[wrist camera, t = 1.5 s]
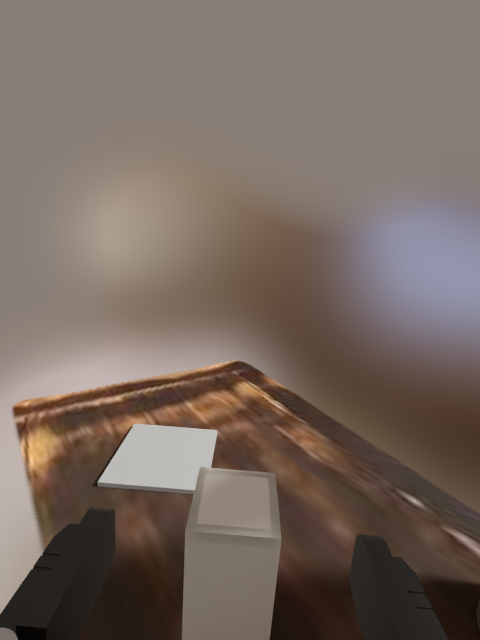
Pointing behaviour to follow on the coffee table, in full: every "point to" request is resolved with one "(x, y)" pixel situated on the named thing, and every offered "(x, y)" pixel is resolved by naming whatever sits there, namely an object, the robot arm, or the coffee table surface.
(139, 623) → the coffee table surface
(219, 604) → the cream box
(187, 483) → the grey mat
